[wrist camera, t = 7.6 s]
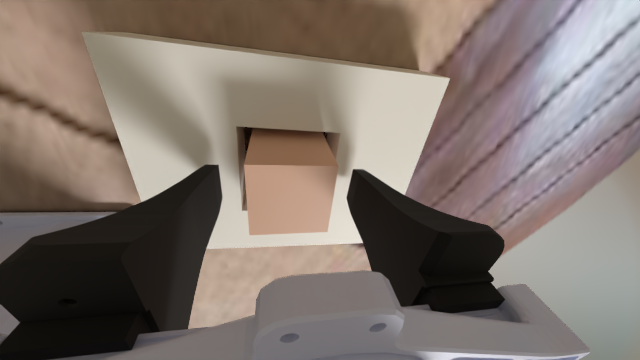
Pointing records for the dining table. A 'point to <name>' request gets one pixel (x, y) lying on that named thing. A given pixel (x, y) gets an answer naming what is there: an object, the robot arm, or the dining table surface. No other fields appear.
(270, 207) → the tan rectangular block
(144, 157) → the jig block
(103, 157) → the dining table surface
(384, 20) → the dining table surface
